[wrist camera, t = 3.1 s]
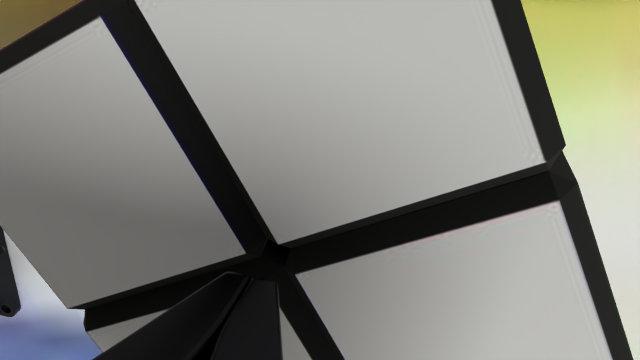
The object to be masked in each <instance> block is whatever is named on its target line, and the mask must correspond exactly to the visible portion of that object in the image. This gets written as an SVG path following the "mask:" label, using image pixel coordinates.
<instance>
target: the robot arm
mask: <svg viewBox="0 0 640 360" xmlns="http://www.w3.org/2000/svg"><path fill="white" fill-rule="evenodd" d="M20 309H21V305H20V300H19V296H18V292H17V288H16V284H15V280H14V275H13V271H12V267H11V263H10V259H9V254H8V250H7V246H6V242H5V238H4V234H3V229H2V227H1V226H0V315H2V316H7V317H13V316H14V315H15V314H16V313H17V312H18V311H19V310H20ZM92 360H283V350H282V336H281V321H280V307H279V293H278V284H277V282H276V281H272V280H268V279H263V278H258V277H255V278H253V279H251V277H250V276H248V275H244V274H239V273H234V272H225V273H223V274H222V275H220V276H219V277H217V278H216V279H214V280H213V281H211V282H210V283H208V284H207V285H205V286H203V287H202V288H200V289H199V290H197V291H196V292H194V293H193V294H191V295H190V296H188V297H187V298H185V299H184V300H182V301H181V302H179V303H178V304H176V305H175V306H173V307H171V308H170V309H168V310H167V311H165V312H164V313H162V314H161V315H159V316H158V317H156V318H155V319H153V320H152V321H150V322H149V323H147V324H146V325H144V326H143V327H141V328H140V329H138V330H136V331H135V332H133V333H132V334H130V335H129V336H127V337H126V338H124V339H123V340H121V341H120V342H118V343H117V344H115V345H114V346H112V347H111V348H109V349H108V350H106V351H104V352H103V353H101V354H100V355H98V356H97V357H95V358H94V359H92Z"/></svg>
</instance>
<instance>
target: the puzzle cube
mask: <svg viewBox="0 0 640 360" xmlns="http://www.w3.org/2000/svg"><path fill="white" fill-rule="evenodd" d="M565 146H566V144H565V141H564V138H563V134H562V131H561V128H560V125H559V122H558V118H557V115H556V112H555V109H554V106H553V103H552V99H551V96H550V93H549V90H548V87H547V83H546V80H545V77H544V74H543V71H542V68H541V64H540V61H539V58H538V55H537V52H536V48H535V45H534V42H533V39H532V36H531V32H530V29H529V26H528V23H527V20H526V17H525V13H524V10H523V7H522V4H521V1H520V0H83V1H81V2H80V3H78V4H76V5H75V6H73V7H71V8H70V9H68V10H66V11H65V12H63V13H61V14H60V15H58V16H56V17H55V18H53V19H51V20H50V21H48V22H46V23H45V24H43V25H41V26H40V27H38V28H36V29H35V30H33V31H31V32H29V33H28V34H26V35H24V36H23V37H21V38H19V39H18V40H16V41H14V42H13V43H11V44H9V45H8V46H6V47H4V48H3V49H1V50H0V226H1V227H2V228H3V230H4V231H5V232H6V233H7V235H8V236H9V237H10V238H11V239H12V241H13V242H14V243H15V244H16V246H17V247H18V248H19V249H20V251H21V252H22V253H23V254H24V256H25V257H26V258H27V259H28V261H29V262H30V263H31V264H32V266H33V267H34V268H35V269H36V270H37V272H38V273H39V274H40V275H41V277H42V278H43V279H44V280H45V282H46V283H47V284H48V285H49V287H50V288H51V289H52V290H53V292H54V293H55V294H56V295H57V297H58V298H59V299H60V300H61V301H62V303H63V304H64V305H65V306H66V308H67V309H85V317H84V327H85V331H86V332H87V334H88V335H89V336H90V337H91V339H92V340H93V341H94V342H95V344H96V345H97V346H98V347H99V349H100V350H101V351H102V352H104V351H106V350H108V349H109V348H111V347H112V346H114V345H115V344H117V343H118V342H120V341H121V340H123V339H124V338H126V337H127V336H129V335H130V334H132V333H133V332H135V331H136V330H138V329H140V328H141V327H143V326H144V325H146V324H147V323H149V322H150V321H152V320H153V319H155V318H156V317H158V316H159V315H161V314H162V313H164V312H165V311H167V310H168V309H170V308H171V307H173V306H175V305H176V304H178V303H179V302H181V301H182V300H184V299H185V298H187V297H188V296H190V295H191V294H193V293H194V292H196V291H197V290H199V289H200V288H202V287H203V286H205V285H207V284H208V283H210V282H211V281H213V280H214V279H216V278H217V277H219V276H220V275H222V274H223V273H225V272H234V273H239V274H244V275H248V276H250V277H251V279H253V278H255V277H258V278H263V279H268V280H272V281H276V282H277V284H278V293H279V307H280V321H281V336H282V350H283V360H633V357H632V354H631V351H630V347H629V344H628V341H627V338H626V335H625V331H624V328H623V325H622V322H621V319H620V316H619V312H618V309H617V306H616V303H615V300H614V296H613V293H612V290H611V287H610V284H609V280H608V277H607V274H606V271H605V268H604V265H603V261H602V258H601V255H600V252H599V249H598V245H597V242H596V239H595V236H594V233H593V230H592V226H591V223H590V220H589V217H588V214H587V210H586V207H585V204H584V201H583V198H582V194H581V191H580V188H579V185H578V182H577V180H576V178H575V176H574V174H573V172H572V170H571V168H570V166H569V164H568V162H567V160H566V158H565V156H564V154H563V152H562V150H563V149H564V147H565Z"/></svg>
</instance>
